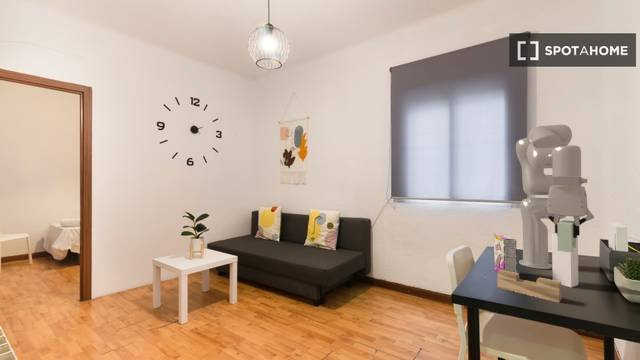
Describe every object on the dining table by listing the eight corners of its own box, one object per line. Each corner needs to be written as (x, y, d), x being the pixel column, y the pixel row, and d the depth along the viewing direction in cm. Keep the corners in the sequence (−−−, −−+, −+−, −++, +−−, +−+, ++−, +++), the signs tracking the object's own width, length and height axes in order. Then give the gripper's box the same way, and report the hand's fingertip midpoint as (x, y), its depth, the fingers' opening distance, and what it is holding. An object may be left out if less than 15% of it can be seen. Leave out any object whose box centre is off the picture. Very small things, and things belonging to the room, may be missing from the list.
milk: (578, 284, 111) (578, 227, 111) (571, 287, 108) (571, 228, 108) (559, 280, 117) (559, 225, 117) (551, 282, 114) (551, 226, 114)
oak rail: (500, 285, 111) (500, 269, 111) (561, 299, 97) (561, 281, 98) (497, 287, 109) (497, 271, 109) (559, 302, 95) (558, 284, 95)
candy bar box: (493, 270, 129) (493, 233, 129) (505, 271, 128) (505, 234, 128) (503, 279, 118) (503, 238, 118) (517, 279, 117) (517, 239, 117)
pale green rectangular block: (563, 245, 104) (563, 219, 104) (576, 246, 101) (576, 220, 101) (557, 250, 96) (557, 223, 96) (571, 252, 94) (571, 224, 94)
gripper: (601, 182, 95) (601, 238, 95) (538, 182, 107) (539, 232, 107) (599, 182, 90) (599, 242, 90) (534, 182, 102) (534, 234, 102)
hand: (567, 236), depth 99 cm, fingers closed on pale green rectangular block, 3 cm apart
